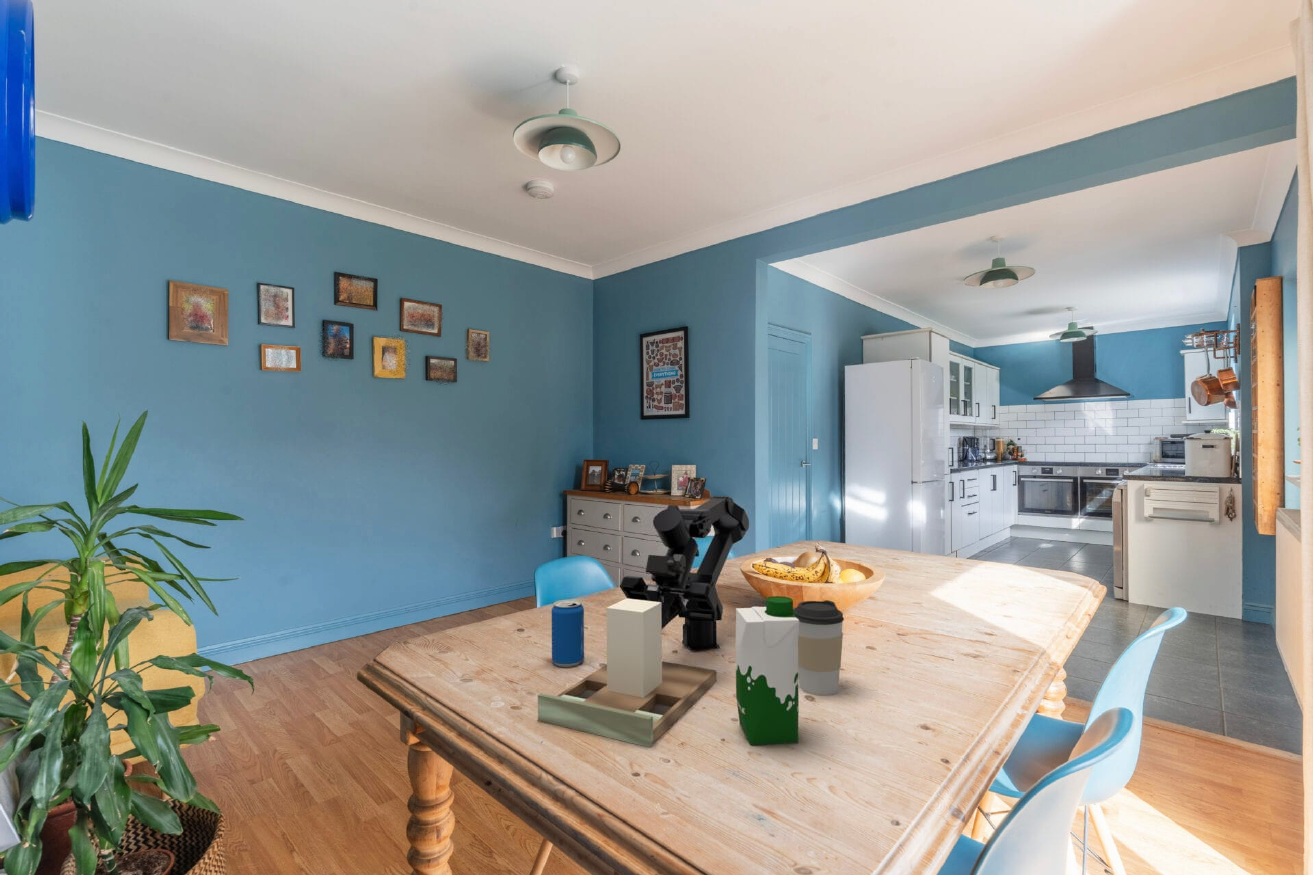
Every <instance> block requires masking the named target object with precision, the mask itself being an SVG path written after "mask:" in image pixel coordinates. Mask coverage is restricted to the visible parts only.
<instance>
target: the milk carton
mask: <svg viewBox="0 0 1313 875" xmlns="http://www.w3.org/2000/svg"><path fill="white" fill-rule="evenodd" d="M793 609H794V599H793V598H791V597H788V596H783V595H781V596H779V595H775V596H774V595H773V596H772V595H771V596H769V597H767V598H765V606H751V607H743V608H742V607H738V608H737V607H736V608H735V693H736V694H735V697H736V698H735V699H736V706H737V713H738V721H739V724H740V726H741V729H742V732H743V733H744V735H745V738H746V739H747V741H748V743H749V745H750V746H757V745H758V746H759V745H760V746H761V745H776V744H777V745H780V744H795V743H796V744H797V743H798V742H799V711H800V710H799V709H800V708H799V706H800V705H799V704H800V702H799V698H800V697H799V696H800V695H799V679H798V633H799V619H797V617H796V616H795V613H794V612H793Z"/></svg>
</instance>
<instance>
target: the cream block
mask: <svg viewBox="0 0 1313 875" xmlns="http://www.w3.org/2000/svg"><path fill="white" fill-rule="evenodd" d="M662 631H663V629H662V618H661V602H653V601H645V600H636V599H628V598H624V599H622V600H620V601H617V602H616V603H613V604H612V605H609V606H608V607H606V664H607V691H612V692H617V693H622V694H627V695H632V696H637V697H642V698H644V697H645V696H646V695H648V694H649V693H650V692H651V691H653V690H654V689H655V688H656V687H657V686H659V685H660V684H661V683H662V661H663V650H662V649H663V645H662V644H663V640H662V638H663V633H662Z"/></svg>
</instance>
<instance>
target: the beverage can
mask: <svg viewBox="0 0 1313 875" xmlns="http://www.w3.org/2000/svg"><path fill="white" fill-rule="evenodd" d="M584 659H585V608H584V606H583V603H582V601H581V600H578V599H573V598H571V599H562V600H561V599H560V600H556V601H555V602H553V606H552V608H551V661H552V663H554V664H555V665H556V666H558V667H561V668H571V667H575V666H578V665H580V664H581V662H583V661H584Z"/></svg>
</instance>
